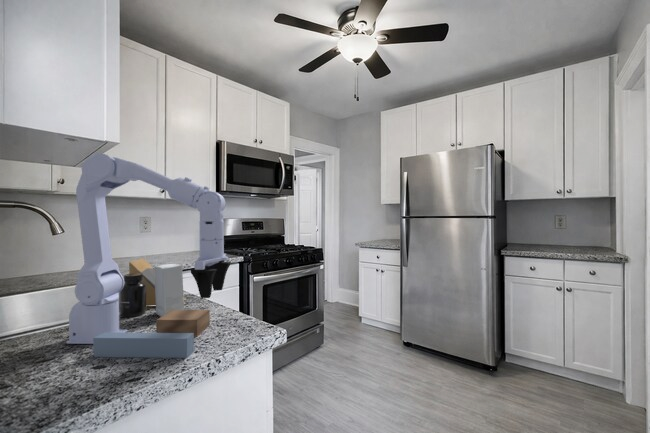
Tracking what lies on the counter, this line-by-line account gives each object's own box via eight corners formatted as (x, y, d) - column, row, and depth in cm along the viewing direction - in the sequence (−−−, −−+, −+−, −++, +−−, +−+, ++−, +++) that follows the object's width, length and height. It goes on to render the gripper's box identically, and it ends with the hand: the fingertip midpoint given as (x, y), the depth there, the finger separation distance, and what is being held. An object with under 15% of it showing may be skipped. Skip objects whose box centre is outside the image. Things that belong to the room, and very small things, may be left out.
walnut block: (156, 338, 76) (156, 319, 76) (172, 326, 84) (172, 309, 84) (197, 338, 76) (196, 319, 76) (209, 326, 84) (209, 309, 84)
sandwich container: (176, 307, 101) (176, 261, 101) (128, 307, 101) (128, 261, 101) (187, 299, 110) (187, 257, 110) (143, 300, 109) (143, 257, 109)
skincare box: (184, 315, 92) (184, 265, 92) (162, 320, 88) (162, 267, 88) (174, 309, 98) (174, 262, 98) (153, 313, 94) (153, 264, 94)
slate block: (93, 356, 65) (93, 337, 65) (104, 350, 68) (104, 332, 68) (187, 357, 65) (187, 338, 65) (193, 351, 68) (193, 333, 68)
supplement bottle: (117, 319, 89) (117, 277, 89) (122, 312, 95) (121, 273, 95) (145, 316, 92) (144, 275, 92) (147, 309, 98) (147, 271, 98)
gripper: (216, 242, 70) (216, 301, 71) (236, 237, 85) (237, 287, 85) (185, 242, 71) (185, 301, 71) (211, 237, 85) (211, 286, 85)
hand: (212, 293), depth 78 cm, fingers open, 7 cm apart
